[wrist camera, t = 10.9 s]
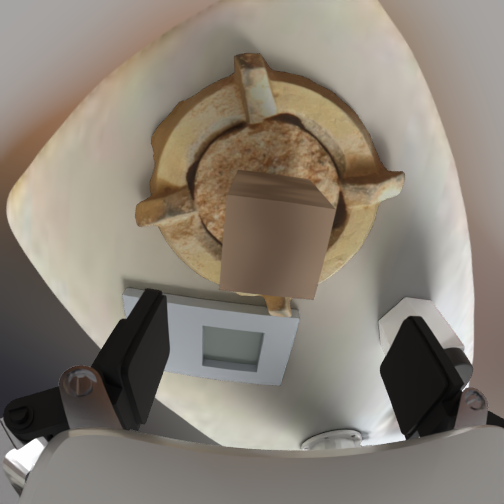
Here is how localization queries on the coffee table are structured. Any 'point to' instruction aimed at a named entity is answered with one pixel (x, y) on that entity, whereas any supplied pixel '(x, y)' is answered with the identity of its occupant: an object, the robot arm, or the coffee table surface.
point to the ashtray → (262, 163)
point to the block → (274, 235)
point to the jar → (437, 325)
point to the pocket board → (225, 339)
